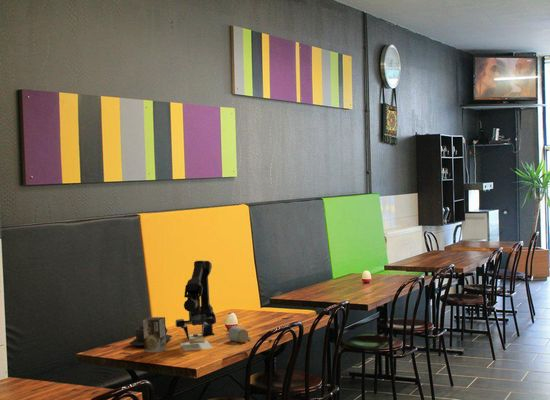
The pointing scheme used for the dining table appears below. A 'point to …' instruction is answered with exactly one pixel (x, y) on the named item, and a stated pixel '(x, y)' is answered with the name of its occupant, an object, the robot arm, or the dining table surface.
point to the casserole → (140, 336)
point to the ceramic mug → (238, 334)
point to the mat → (195, 346)
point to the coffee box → (154, 334)
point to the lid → (196, 338)
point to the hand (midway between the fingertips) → (195, 339)
